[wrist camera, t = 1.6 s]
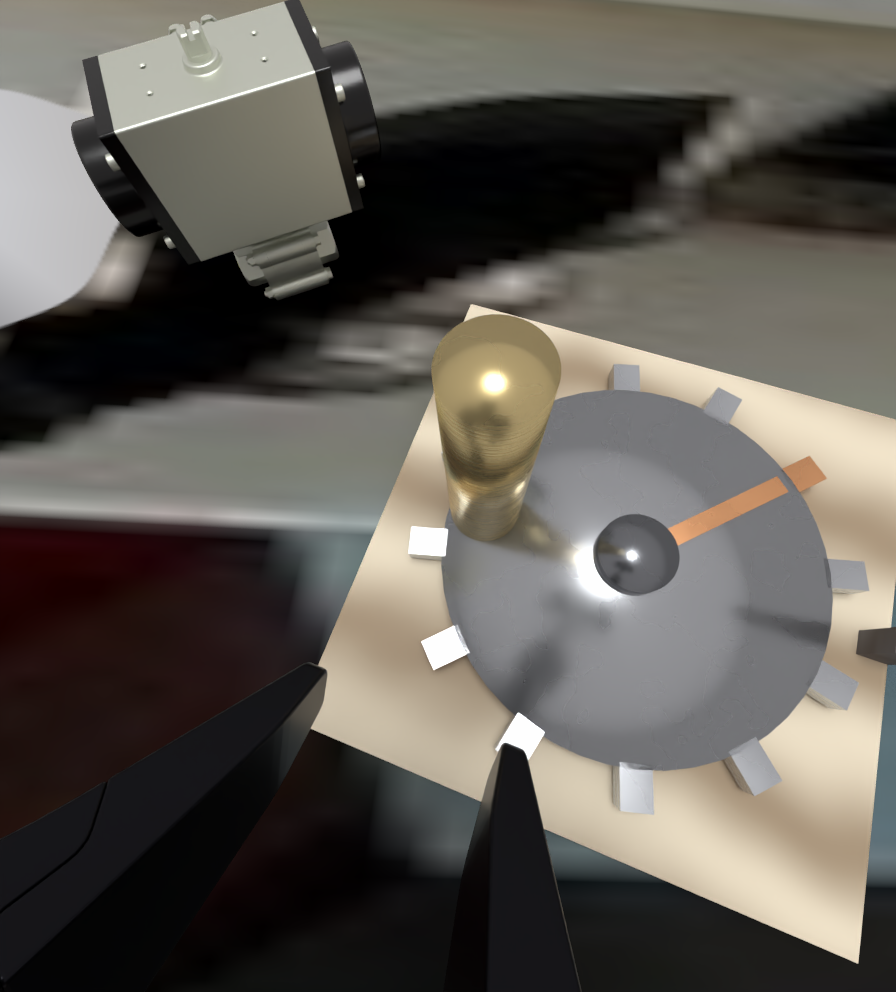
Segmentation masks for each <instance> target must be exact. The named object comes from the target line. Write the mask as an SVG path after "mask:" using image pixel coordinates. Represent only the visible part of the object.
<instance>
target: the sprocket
mask: <svg viewBox="0 0 896 992" xmlns="http://www.w3.org/2000/svg"><path fill="white" fill-rule="evenodd" d="M560 380H561V361H560V357H559V354H558V351H557V349H556V347H555V345H554V343H553V342H552V341H551V339H550V338H549V337H548V336H547V335H546V334H545V333H544V332H543V331H542V330H541V329H540V328H538V327H537V326H535V325H534V324H532V323H530V322H528V321H526V320H524V319H521V318H518V317H515V316H510V315H502V314H490V315H483V316H478V317H475V318H472V319H469V320H467V321H465V322H462V323H461V324H459V325H457V326H456V327H454V328H453V329H452V330H451V331H450V332H448V333H447V335H446V336H445V337H444V338H443V339H442V341H441V342H440V343H439V345H438V347H437V349H436V351H435V354H434V357H433V361H432V381H433V388H434V395H435V402H436V409H437V417H438V424H439V431H440V438H441V445H442V452H441V455H442V461H443V462H444V467H445V474H446V481H447V489H448V496H449V503H450V507H449V511H448V514H447V517H446V522H445V528H444V529H439V528H426V527H413V526H412V527H411V536H410V544H409V552H408V553H409V555H410V557H411V558H418V559H430V560H442V561H441V568H442V578H443V588H444V594H445V598H446V602H447V607H448V611H449V615H450V618H451V621H452V623H453V627H451V628H449V629H447V630H445V631H443V632H441V633H438V634H436V635H434V636H432V637H430V638H428V639H426V640H424V641H422V644H423V646H424V649H425V651H426V653H427V656H428V658H429V660H430V663H431V665H432V667H433V670H436V669H438V668H440V667H442V666H444V665H446V664H448V663H450V662H452V661H454V660H456V659H458V658H460V657H463V656H465V655H467V657H468V659H469V660H470V662H471V664H472V666H473V667H474V669H475V670H476V671H477V673H478V674H479V676H480V677H481V678H482V680H483V681H484V683H485V684H486V686H487V687H488V688H489V689H490V690H491V691H492V693H493V694H494V695H495V696H496V697H497V698H498V699H499V700H500V701H501V702H502V704H503V705H504V706H505V707H506V708H507V709H508V710H509V711H511V712H512V713H513V716H512V718H511V719H510V721H509V722H508V724H507V726H506V727H505V729H504V730H503V732H502V734H501V735H500V737H499V739H498V740H497V742H496V743H495V745H494V747H495V750H496V751H499V749H500V747H501V745H502V744H503V743H509V744H511V745H514V746H516V747H519V748H521V749H523V750H524V751H525V752H526V755H527V758H528V760H529V758H530V756H531V755H532V753H533V751H534V750H535V748H536V746H537V745H538V743H539V741H540V740H541V738H542V736H543V737H545V738H547V739H548V740H550V741H551V742H553V743H555V744H557V745H559V746H561V747H563V748H565V749H567V750H569V751H571V752H573V753H575V754H577V755H580V756H583V757H586V758H589V759H592V760H595V761H598V762H601V763H604V764H607V765H612V766H613V804H614V805H615V806H616V807H617V808H618V809H619V810H620V811H624V812H633V813H641V814H650V815H654V794H653V770H655V771H668V770H678V769H687V768H694V767H698V766H702V765H706V764H710V763H713V762H717V761H721V760H724V762H725V764H726V765H727V767H728V769H729V771H730V772H731V774H732V776H733V778H734V779H735V781H736V783H737V784H738V786H739V788H740V790H742V791H744V792H746V793H749V794H751V795H753V796H756V795H758V794H760V793H762V792H763V791H765V790H767V789H769V788H771V787H772V786H774V785H776V784H778V783H780V782H782V779H781V777H780V776H779V774H778V773H777V771H776V769H775V768H774V766H773V764H772V763H771V761H770V759H769V758H768V756H767V754H766V753H765V751H764V749H763V748H762V746H761V744H760V743H759V741H760V740H761V739H763V738H764V737H766V736H767V735H769V734H770V733H771V732H772V731H773V730H774V729H775V728H776V727H777V726H779V725H780V724H781V723H782V722H783V721H784V720H785V719H786V718H787V717H788V716H789V715H790V714H791V713H792V711H793V710H794V709H795V708H796V706H797V705H798V704H799V703H800V701H801V700H802V699H803V698H804V696H805V694H807V695H809V696H810V697H812V698H814V699H815V700H817V701H818V702H820V703H821V704H823V705H824V706H826V707H828V708H830V709H838V710H846V711H847V709H848V707H849V705H850V703H851V700H852V698H853V696H854V693H855V691H856V689H857V687H858V684H859V682H857V681H855V680H854V679H852V678H850V677H849V676H847V675H846V674H844V673H842V672H841V671H839V670H838V669H836V668H834V667H833V666H831V665H830V664H828V663H826V662H825V661H823V660H822V659H823V657H824V654H825V651H826V648H827V643H828V638H829V633H830V629H831V622H832V605H833V594H832V593H843V594H855V593H861V592H866V591H869V585H868V579H867V574H866V568H865V562H864V561H851V560H838V559H828V558H827V553H826V549H825V546H824V543H823V540H822V537H821V534H820V532H819V529H818V526H817V523H816V521H815V519H814V517H813V515H812V513H811V511H810V509H809V507H808V505H807V503H806V501H805V500H804V498H803V497H802V495H801V494H800V492H802V491H804V490H806V489H808V488H810V487H812V486H814V485H816V484H818V483H820V482H821V481H823V480H825V479H827V478H826V476H825V475H824V474H823V472H822V471H821V470H820V469H819V467H818V466H817V465H816V463H815V462H814V461H813V459H812V458H811V457H810V456H808V457H806V458H803V459H801V460H799V461H797V462H795V463H793V464H791V465H789V466H787V467H785V468H783V469H782V468H781V467H780V466H779V465H778V463H777V462H776V461H775V460H774V459H773V458H772V457H771V456H770V455H769V454H768V453H767V452H766V451H765V450H764V449H763V448H762V447H760V446H759V445H758V444H757V443H756V442H755V441H753V440H752V439H751V438H750V437H748V436H747V435H746V434H744V433H743V432H742V431H740V430H739V429H738V428H736V427H735V426H733V425H731V424H730V423H729V422H730V420H731V418H732V417H733V415H734V413H735V411H736V410H737V408H738V406H739V405H740V403H741V401H742V399H740V398H738V397H737V396H735V395H733V394H731V393H729V392H727V391H725V390H723V389H721V388H719V387H718V388H717V389H716V390H715V391H714V392H713V393H712V395H711V396H710V397H709V398H708V400H707V401H706V403H705V405H704V406H703V408H702V409H701V408H699V407H697V406H695V405H692V404H689V403H686V402H683V401H680V400H678V399H675V398H671V397H667V396H662V395H658V394H654V393H648V392H640V369H639V365H627V364H614V365H613V367H612V369H611V371H610V373H609V375H608V380H609V390H602V391H593V392H584V393H579V394H575V395H571V396H567V397H562V398H559V399H556V400H555V397H556V394H557V391H558V387H559V384H560Z"/></svg>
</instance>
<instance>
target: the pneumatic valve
mask: <svg viewBox="0 0 896 992" xmlns="http://www.w3.org/2000/svg"><path fill="white" fill-rule="evenodd" d="M189 23H190V26H191V29H188V30H186V29H185V27H184V25H183V24H182V25H180V24H173V25H171V26H170V27H169V35H167V36H163V37H160V38H157V39H153V40H150V41H146V42H143V43H139V44H136V45H132V46H129V47H126V48H122V49H119V50H115V51H112V52H108V53H105V54H101V55H98V56H94V57H91V58H88V59H84V60H82V61H83V66H84V71H85V75H86V80H87V85H88V90H89V95H90V100H91V105H92V109H93V114H94V116H92V117H89V118H85V119H82V120H78V121H75V122H73V124H72V126H71V131H72V137H73V141H74V144H75V147H76V149H77V152H78V154H79V157H80V159H81V161H82V163H83V165H84V167H85V169H86V171H87V173H88V175H89V177H90V179H91V181H92V182H93V184H94V186H95V188H96V189H97V191H98V192H99V194H100V196H101V197H102V199H103V200H104V202H105V203H106V205H107V206H108V208H109V209H110V210H111V212H112V213H113V214H114V216H115V217H116V218H117V219H118V221H119V222H120V223H121V224H122V225H123V226H124V227H125V228H126V229H127V230H128V231H129V232H130V233H131V234H133V235H135V236H137V237H141V236H144V235H148V234H151V233H154V232H157V231H160V230H163V229H164V231H165V232H166V234H167V235H166V236H164V240H165V242H166V244H167V246H168V247H169V248H170V249H173V248H177V249H178V250H179V252H180V253H181V255H182V256H183V258H184V259H185V260H186V262H187V263H188V265H192V264H195V263H198V262H201V261H204V260H207V259H210V258H213V257H216V256H219V255H223V254H226V253H229V252H232V251H233V252H234V255H235V257H236V260H237V262H238V265H239V267H240V269H241V271H242V273H243V275H244V277H245V279H246V280H247V282H248V283H249V285H251V286H258V285H261V284H264V283H267V282H268V283H269V285H270V287H267V288H265V290H266V291H264V294H265V296H266V297H269V299H272V298H276V299H277V301H278V300H281V299H284V298H287V297H290V296H293V295H296V294H299V293H302V292H305V291H308V290H311V289H314V288H317V287H320V286H323V285H326V284H329V281H328V280H330V279H332V278H333V275H332V272H331V270H330V267H327V268H324V267H323V265H322V264H324V263H327V262H330V261H333V260H336V259H338V257H339V253H338V250H337V247H336V244H335V241H334V238H333V235H332V232H331V230H330V227H329V224H328V222H327V220H330V219H333V218H336V217H339V216H342V215H346V214H349V213H352V212H355V211H358V210H361V209H364V208H363V204H362V199H361V195H360V191H359V188H362V187H365V183H364V179H363V176H362V174H361V173H360V174H355V170H354V169H355V168H358V167H361V166H364V165H367V164H370V163H374V162H377V161H379V160H380V158H381V144H380V137H379V132H378V126H377V122H376V117H375V113H374V109H373V105H372V101H371V97H370V94H369V90H368V87H367V83H366V80H365V77H364V74H363V71H362V68H361V65H360V63H359V60H358V57H357V55H356V53H355V51H354V49H353V47H352V45H351V44H350V42H348V41H343V42H340V43H336V44H333V45H330V46H326V47H323V48H321V46H320V44H319V37H318V34H317V31H316V28H315V26H312V27H311V25H310V22H309V20H308V18H307V16H306V14H305V11H304V9H303V7H302V5H301V3H300V0H288V1H284V2H281V3H277V4H274V5H270V6H267V7H264V8H260V9H257V10H253V11H250V12H246V13H243V14H239V15H236V16H233V17H229V18H226V19H222V20H219V21H217V20H216V18H214V17H213V16H212V15H204V16H203V17H202V18H201V22H200V24H199V23H198V22H196V21H193V22H189ZM325 272H326V273H325ZM329 278H330V279H329Z"/></svg>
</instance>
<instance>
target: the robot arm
mask: <svg viewBox="0 0 896 992" xmlns="http://www.w3.org/2000/svg"><path fill="white" fill-rule="evenodd" d="M327 675H328V674H327V670H326V669H325V668H323V667H320V666H318V665H315V664H313V663H310V662H308V663H304V664H302V665H300V666H299V667H297V668H295V669H294V670H292V671H290V672H289V673H287V674H285V675H284V676H282V677H280V678H278V679H277V680H275V681H273V682H272V683H270V684H268V685H267V686H265V687H263V688H262V689H260V690H258V691H256V692H255V693H253V694H251V695H250V696H248V697H246V698H245V699H243V700H241V701H240V702H238V703H236V704H234V705H233V706H231V707H229V708H228V709H226V710H224V711H223V712H221V713H219V714H218V715H216V716H214V717H212V718H211V719H209V720H207V721H206V722H204V723H202V724H201V725H199V726H197V727H196V728H194V729H192V730H190V731H189V732H187V733H185V734H184V735H182V736H180V737H179V738H177V739H175V740H174V741H172V742H170V743H168V744H167V745H165V746H163V747H162V748H160V749H158V750H157V751H155V752H153V753H152V754H150V755H148V756H146V757H145V758H143V759H141V760H140V761H138V762H136V763H135V764H133V765H131V766H130V767H128V768H126V769H124V770H123V771H121V772H119V773H118V774H116V775H114V776H113V777H111V778H110V779H109V780H108V782H107V783H106V782H102V783H100V784H99V785H97V786H95V787H94V788H92V789H90V790H89V791H87V792H85V793H83V794H82V795H80V796H78V797H77V798H75V799H73V800H71V801H70V802H68V803H66V804H64V805H62V806H61V807H59V808H57V809H55V810H54V811H52V812H50V813H48V814H47V815H45V816H43V817H41V818H39V819H38V820H36V821H34V822H32V823H30V824H28V825H26V826H24V827H22V828H20V829H19V830H17V831H15V832H13V833H11V834H9V835H7V836H5V837H3V838H1V839H0V992H145V990H146V989H147V987H148V986H149V984H150V983H151V981H152V980H153V978H154V977H155V975H156V974H157V972H158V971H159V969H160V968H161V966H162V965H163V963H164V962H165V960H166V959H167V957H168V956H169V954H170V953H171V951H172V950H173V948H174V947H175V945H176V944H177V942H178V941H179V939H180V938H181V936H182V935H183V933H184V932H185V930H186V929H187V927H188V926H189V924H190V923H191V921H192V920H193V918H194V917H195V915H196V914H197V912H198V911H199V909H200V908H201V906H202V904H203V903H204V901H205V900H206V898H207V897H208V895H209V894H210V892H211V891H212V889H213V888H214V886H215V885H216V883H217V882H218V880H219V879H220V877H221V876H222V874H223V873H224V871H225V870H226V868H227V867H228V865H229V864H230V862H231V861H232V859H233V858H234V856H235V855H236V853H237V852H238V850H239V849H240V847H241V846H242V844H243V843H244V841H245V840H246V838H247V837H248V835H249V834H250V832H251V831H252V829H253V828H254V826H255V825H256V823H257V822H258V820H259V819H260V817H261V816H262V814H263V813H264V811H265V810H266V808H267V807H268V805H269V804H270V802H271V800H272V799H273V797H274V796H275V794H276V792H277V791H278V789H279V787H280V785H281V783H282V782H283V780H284V778H285V776H286V774H287V772H288V770H289V769H290V767H291V765H292V763H293V761H294V759H295V757H296V755H297V753H298V751H299V750H300V748H301V746H302V744H303V742H304V740H305V738H306V736H307V734H308V732H309V730H310V729H311V727H312V725H313V723H314V721H315V719H316V717H317V715H318V713H319V711H320V709H321V707H322V704H323V701H324V696H325V689H326V682H327ZM443 992H582V991H581V987H580V983H579V978H578V974H577V970H576V965H575V961H574V957H573V953H572V948H571V944H570V940H569V935H568V931H567V927H566V922H565V918H564V914H563V909H562V905H561V901H560V896H559V892H558V888H557V883H556V879H555V875H554V870H553V866H552V862H551V857H550V853H549V849H548V844H547V840H546V836H545V832H544V827H543V823H542V819H541V814H540V810H539V806H538V801H537V797H536V793H535V788H534V784H533V780H532V775H531V771H530V767H529V762H528V758H527V755H526V752H525V751H524V750H523V749H521V748H519V747H516V746H514V745H511V744H509V743H503V744H502V745H501V747H500V749H499V751H498V754H497V756H496V758H495V761H494V763H493V765H492V768H491V770H490V773H489V776H488V779H487V783H486V786H485V790H484V794H483V798H482V801H481V805H480V809H479V812H478V816H477V820H476V824H475V827H474V831H473V835H472V839H471V842H470V846H469V850H468V854H467V857H466V861H465V865H464V870H463V874H462V879H461V884H460V890H459V896H458V902H457V909H456V915H455V921H454V928H453V934H452V940H451V947H450V953H449V959H448V966H447V972H446V978H445V985H444V991H443Z"/></svg>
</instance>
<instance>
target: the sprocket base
mask: <svg viewBox="0 0 896 992" xmlns="http://www.w3.org/2000/svg"><path fill="white" fill-rule="evenodd" d="M490 314H502V315H509V314H506V313H502V312H498V311H495V310H491V309H487V308H484V307H480V306H476V305H472V304H471V306H470V308H469V311H468V313H467V315H466V318H465V320H464V322H465V321H467V320H469V319H472V318H475V317H478V316H483V315H490ZM510 316H513V315H510ZM515 317H517V316H515ZM518 318H520V317H518ZM521 319H524V318H521ZM524 320H526V321H528V322H530V323H532V324H534V325H535V326H537V327H538V328H540V329H541V330H542V331H543V332H544V333H545V334H546V335H547V336H548V337H549V338H550V339H551V341H552V342H553V343H554V345H555V347H556V349H557V351H558V354H559V357H560V361H561V380H560V384H559V387H558V391H557V394H556V397H555V400H556V399H559V398H562V397H567V396H571V395H575V394H579V393H584V392H593V391H602V390H609V380H608V375H609V373H610V371H611V369H612V367H613V365H614V364H627V365H639V369H640V392H648V393H654V394H658V395H662V396H667V397H671V398H675V399H678V400H680V401H683V402H686V403H689V404H692V405H695V406H697V407H699V408H701V409H702V408H703V406H704V405H705V403H706V401H707V400H708V398H709V397H710V396H711V395H712V393H713V392H714V391H715V390H716V389H717V388H718V387H719V388H721V389H723V390H725V391H727V392H729V393H731V394H733V395H735V396H737V397H738V398H740V399H742V401H741V403H740V405H739V406H738V408H737V410H736V411H735V413H734V415H733V417H732V418H731V420H730V422H729V423H730V424H731V425H733V426H735V427H736V428H738V429H739V430H740V431H742V432H743V433H744V434H746V435H747V436H748V437H750V438H751V439H752V440H753V441H755V442H756V443H757V444H758V445H759V446H760V447H762V448H763V449H764V450H765V451H766V452H767V453H768V454H769V455H770V456H771V457H772V458H773V459H774V460H775V461H776V462H777V463H778V465H779V466H780V467H781V468H782V469H783V468H785V467H787V466H789V465H791V464H793V463H795V462H797V461H799V460H801V459H803V458H806V457H808V456H810V457H811V458H812V459H813V461H814V462H815V463H816V465H817V466H818V467H819V469H820V470H821V471H822V472H823V474H824V475H825V476H826V478H827V479H825V480H823V481H821V482H820V483H818V484H816V485H814V486H812V487H810V488H808V489H806V490H804V491H802V492H800V494H801V495H802V497H803V498H804V500H805V501H806V503H807V505H808V507H809V509H810V511H811V513H812V515H813V517H814V519H815V521H816V523H817V526H818V529H819V532H820V534H821V537H822V540H823V543H824V546H825V549H826V553H827V558H828V559H838V560H851V561H864V562H865V568H866V574H867V579H868V585H869V591H866V592H861V593H855V594H843V593H832V594H833V605H832V622H831V629H830V633H829V638H828V643H827V648H826V651H825V654H824V657H823V659H822V660H823V661H825V662H826V663H828V664H830V665H831V666H833V667H834V668H836V669H838V670H839V671H841V672H842V673H844V674H846V675H847V676H849V677H850V678H852V679H854V680H855V681H857V682H859V684H858V687H857V689H856V691H855V693H854V696H853V698H852V700H851V703H850V705H849V707H848V709H847V711H846V710H838V709H830V708H828V707H826V706H824V705H823V704H821V703H820V702H818V701H817V700H815V699H814V698H812V697H810V696H809V695H807V694H805V696H804V698H803V699H802V700H801V701H800V703H799V704H798V705H797V706H796V708H795V709H794V710H793V711H792V713H791V714H790V715H789V716H788V717H787V718H786V719H785V720H784V721H783V722H782V723H781V724H780V725H779V726H777V727H776V728H775V729H774V730H773V731H772V732H771V733H770V734H769V735H767V736H766V737H764V738H763V739H761V740H760V741H759V743H760V744H761V746H762V748H763V749H764V751H765V753H766V754H767V756H768V758H769V759H770V761H771V763H772V764H773V766H774V768H775V769H776V771H777V773H778V774H779V776H780V777H781V779H782V782H780V783H778V784H776V785H774V786H772V787H771V788H769V789H767V790H765V791H763V792H762V793H760V794H758V795H756V796H753V795H751V794H749V793H746V792H744V791H742V790H740V788H739V786H738V784H737V783H736V781H735V779H734V778H733V776H732V774H731V772H730V771H729V769H728V767H727V765H726V764H725V762H724V760H721V761H717V762H713V763H710V764H706V765H702V766H698V767H694V768H687V769H678V770H668V771H655V770H653V794H654V815H650V814H641V813H633V812H624V811H620V810H619V809H618V808H617V807H616V806H615V805H614V804H613V766H612V765H607V764H604V763H601V762H598V761H595V760H592V759H589V758H586V757H583V756H580V755H577V754H575V753H573V752H571V751H569V750H567V749H565V748H563V747H561V746H559V745H557V744H555V743H553V742H551V741H550V740H548V739H547V738H545V737H543V736H542V738H541V740H540V741H539V743H538V745H537V746H536V748H535V750H534V751H533V753H532V755H531V756H530V758H529V760H528V762H529V767H530V771H531V775H532V780H533V784H534V788H535V793H536V797H537V801H538V806H539V810H540V814H541V819H542V823H543V827H544V829H546V830H548V831H550V832H553V833H555V834H557V835H560V836H562V837H564V838H567V839H569V840H571V841H574V842H576V843H578V844H581V845H583V846H585V847H588V848H590V849H592V850H595V851H597V852H599V853H602V854H604V855H606V856H609V857H611V858H613V859H616V860H618V861H620V862H623V863H625V864H627V865H630V866H632V867H634V868H637V869H639V870H641V871H644V872H646V873H648V874H651V875H653V876H655V877H658V878H660V879H662V880H665V881H667V882H669V883H671V884H674V885H676V886H678V887H681V888H683V889H685V890H688V891H690V892H692V893H695V894H697V895H699V896H702V897H704V898H706V899H709V900H711V901H713V902H716V903H718V904H720V905H723V906H725V907H727V908H730V909H732V910H734V911H737V912H739V913H741V914H744V915H746V916H748V917H751V918H753V919H755V920H758V921H760V922H762V923H765V924H767V925H769V926H772V927H774V928H776V929H779V930H781V931H783V932H786V933H788V934H790V935H793V936H795V937H797V938H800V939H802V940H804V941H807V942H809V943H811V944H814V945H816V946H818V947H821V948H823V949H825V950H828V951H830V952H832V953H835V954H837V955H839V956H842V957H844V958H846V959H849V960H851V961H853V962H856V963H858V960H859V950H860V939H861V929H862V919H863V909H864V898H865V888H866V878H867V868H868V857H869V847H870V837H871V826H872V816H873V806H874V796H875V785H876V775H877V765H878V755H879V744H880V734H881V724H882V713H883V703H884V693H885V683H886V672H887V665H896V627H892V628H891V621H892V611H893V600H894V590H895V580H896V420H895V419H891V418H888V417H884V416H880V415H877V414H873V413H869V412H866V411H862V410H858V409H855V408H851V407H847V406H844V405H840V404H836V403H833V402H829V401H825V400H822V399H818V398H814V397H811V396H807V395H803V394H799V393H796V392H792V391H788V390H785V389H781V388H777V387H774V386H770V385H766V384H763V383H759V382H755V381H752V380H748V379H744V378H741V377H737V376H733V375H730V374H726V373H722V372H719V371H715V370H711V369H708V368H704V367H700V366H697V365H693V364H689V363H686V362H682V361H678V360H675V359H671V358H667V357H664V356H660V355H656V354H653V353H649V352H645V351H642V350H638V349H634V348H630V347H627V346H623V345H619V344H616V343H612V342H608V341H605V340H601V339H597V338H594V337H590V336H586V335H583V334H579V333H575V332H572V331H568V330H564V329H561V328H557V327H553V326H550V325H546V324H542V323H539V322H535V321H531V320H528V319H524ZM441 452H442V445H441V438H440V431H439V424H438V417H437V409H436V402H435V395H434V393H433V396H432V398H431V400H430V403H429V405H428V407H427V410H426V412H425V414H424V417H423V419H422V422H421V424H420V426H419V429H418V431H417V433H416V436H415V438H414V440H413V443H412V445H411V447H410V450H409V452H408V455H407V457H406V459H405V462H404V464H403V466H402V469H401V471H400V473H399V476H398V478H397V481H396V483H395V485H394V488H393V490H392V492H391V495H390V497H389V499H388V502H387V504H386V507H385V509H384V511H383V514H382V516H381V518H380V521H379V523H378V525H377V528H376V530H375V532H374V535H373V537H372V540H371V542H370V544H369V547H368V549H367V551H366V554H365V556H364V558H363V561H362V563H361V566H360V568H359V570H358V573H357V575H356V577H355V580H354V582H353V584H352V587H351V589H350V591H349V594H348V596H347V599H346V601H345V603H344V606H343V608H342V610H341V613H340V615H339V617H338V620H337V622H336V625H335V627H334V629H333V632H332V634H331V636H330V639H329V641H328V643H327V646H326V648H325V651H324V653H323V655H322V658H321V660H320V662H319V665H318V666H320V667H323V668H325V669H326V670H327V674H328V675H327V682H326V689H325V696H324V701H323V704H322V707H321V709H320V711H319V713H318V715H317V717H316V719H315V721H314V723H313V725H312V727H311V729H313V730H315V731H317V732H320V733H322V734H324V735H327V736H329V737H331V738H334V739H336V740H338V741H341V742H343V743H345V744H348V745H350V746H352V747H355V748H357V749H359V750H362V751H364V752H366V753H369V754H371V755H373V756H376V757H378V758H380V759H383V760H385V761H387V762H390V763H392V764H394V765H397V766H399V767H401V768H404V769H406V770H408V771H411V772H413V773H415V774H418V775H420V776H422V777H425V778H427V779H429V780H432V781H434V782H436V783H439V784H441V785H443V786H446V787H448V788H450V789H453V790H455V791H457V792H460V793H462V794H464V795H467V796H469V797H471V798H473V799H476V800H478V801H480V802H481V801H482V798H483V794H484V790H485V786H486V783H487V779H488V776H489V773H490V770H491V768H492V765H493V763H494V761H495V758H496V756H497V754H498V751H496V750H495V747H494V745H495V743H496V742H497V740H498V739H499V737H500V735H501V734H502V732H503V730H504V729H505V727H506V726H507V724H508V722H509V721H510V719H511V718H512V716H513V713H512V712H511V711H509V710H508V709H507V708H506V707H505V706H504V705H503V704H502V702H501V701H500V700H499V699H498V698H497V697H496V696H495V695H494V694H493V693H492V691H491V690H490V689H489V688H488V687H487V686H486V684H485V683H484V681H483V680H482V678H481V677H480V676H479V674H478V673H477V671H476V670H475V669H474V667H473V666H472V664H471V662H470V660H469V659H468V657H467V655H465V656H463V657H460V658H458V659H456V660H454V661H452V662H450V663H448V664H446V665H444V666H442V667H440V668H438V669H436V670H433V667H432V665H431V663H430V660H429V658H428V656H427V653H426V651H425V649H424V646H423V644H422V641H424V640H426V639H428V638H430V637H432V636H434V635H436V634H438V633H441V632H443V631H445V630H447V629H449V628H451V627H453V623H452V621H451V618H450V615H449V611H448V607H447V602H446V598H445V594H444V588H443V578H442V568H441V561H442V560H430V559H418V558H411V557H410V555H409V553H408V552H409V544H410V536H411V527H412V526H413V527H426V528H439V529H444V528H445V522H446V517H447V514H448V511H449V507H450V503H449V496H448V489H447V481H446V474H445V467H444V462H443V461H442V455H441Z"/></svg>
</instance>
